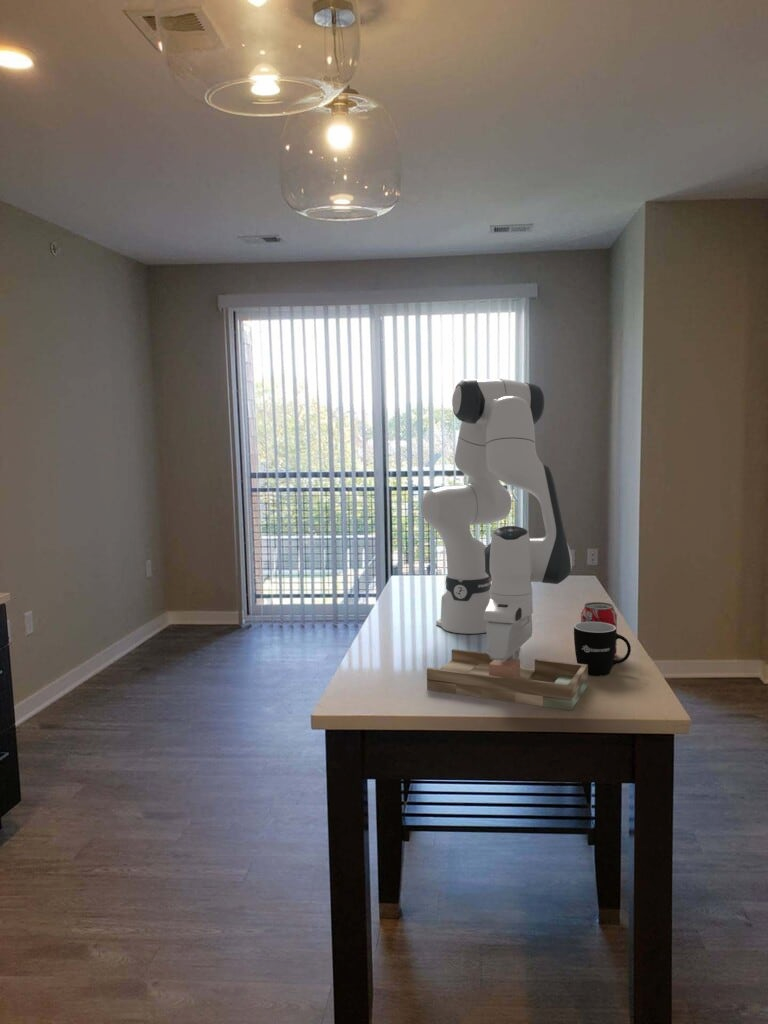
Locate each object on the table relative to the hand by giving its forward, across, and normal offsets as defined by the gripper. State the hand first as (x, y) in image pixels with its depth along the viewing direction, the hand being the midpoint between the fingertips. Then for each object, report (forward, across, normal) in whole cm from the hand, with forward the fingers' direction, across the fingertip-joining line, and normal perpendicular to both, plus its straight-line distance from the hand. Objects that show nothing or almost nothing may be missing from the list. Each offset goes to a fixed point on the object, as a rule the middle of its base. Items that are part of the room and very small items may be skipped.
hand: (512, 669), depth 158 cm
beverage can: (+4, -27, +13) cm, 30 cm away
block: (+1, +4, 0) cm, 5 cm away
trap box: (+3, +2, 0) cm, 4 cm away
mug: (+4, -15, +16) cm, 22 cm away
